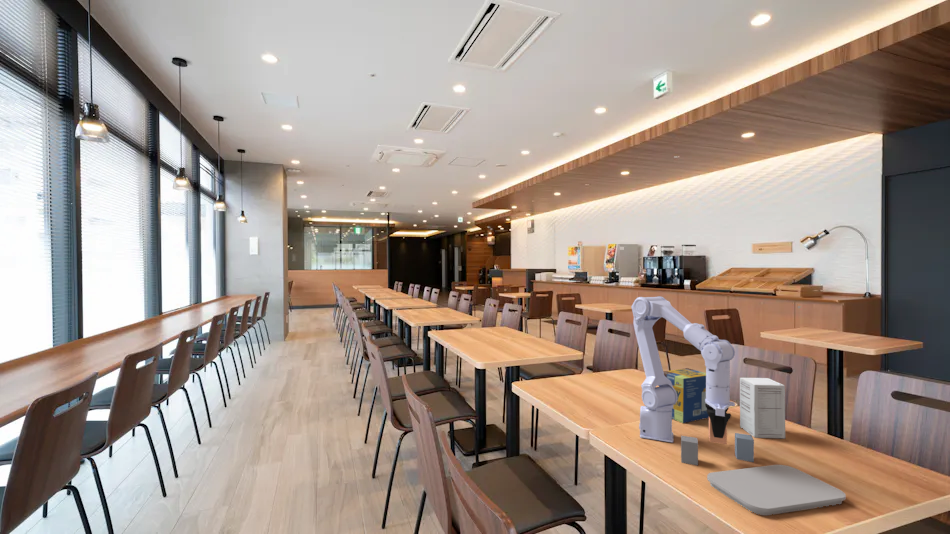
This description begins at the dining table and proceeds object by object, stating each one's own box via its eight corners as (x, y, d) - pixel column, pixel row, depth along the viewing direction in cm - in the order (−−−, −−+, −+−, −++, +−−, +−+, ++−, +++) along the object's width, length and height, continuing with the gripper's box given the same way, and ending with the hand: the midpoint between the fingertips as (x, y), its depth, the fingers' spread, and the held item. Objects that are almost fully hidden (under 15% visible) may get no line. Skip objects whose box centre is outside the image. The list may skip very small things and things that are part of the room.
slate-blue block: (736, 459, 118) (736, 437, 118) (734, 453, 121) (734, 432, 121) (753, 462, 116) (753, 440, 116) (751, 456, 120) (751, 435, 120)
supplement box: (769, 428, 141) (769, 377, 141) (786, 439, 132) (786, 385, 132) (738, 426, 142) (738, 376, 142) (754, 437, 133) (754, 384, 133)
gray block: (681, 462, 115) (681, 440, 115) (681, 456, 119) (681, 435, 119) (697, 465, 114) (698, 443, 114) (697, 459, 117) (697, 438, 117)
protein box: (658, 414, 154) (658, 371, 154) (687, 408, 161) (687, 367, 161) (683, 423, 145) (683, 378, 145) (713, 417, 151) (713, 374, 151)
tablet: (701, 482, 105) (701, 473, 105) (785, 472, 111) (785, 463, 111) (758, 521, 89) (758, 510, 89) (853, 506, 95) (853, 496, 95)
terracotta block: (709, 441, 115) (709, 419, 115) (708, 436, 119) (708, 415, 119) (726, 444, 114) (726, 422, 114) (725, 438, 117) (725, 417, 117)
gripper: (738, 393, 108) (738, 447, 108) (731, 380, 121) (731, 427, 121) (707, 390, 111) (706, 442, 111) (703, 377, 124) (703, 423, 124)
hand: (717, 434), depth 116 cm, fingers closed on terracotta block, 4 cm apart
